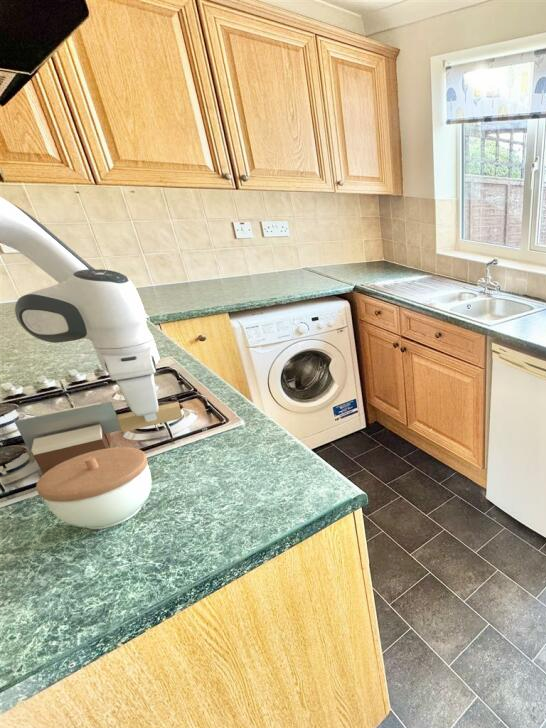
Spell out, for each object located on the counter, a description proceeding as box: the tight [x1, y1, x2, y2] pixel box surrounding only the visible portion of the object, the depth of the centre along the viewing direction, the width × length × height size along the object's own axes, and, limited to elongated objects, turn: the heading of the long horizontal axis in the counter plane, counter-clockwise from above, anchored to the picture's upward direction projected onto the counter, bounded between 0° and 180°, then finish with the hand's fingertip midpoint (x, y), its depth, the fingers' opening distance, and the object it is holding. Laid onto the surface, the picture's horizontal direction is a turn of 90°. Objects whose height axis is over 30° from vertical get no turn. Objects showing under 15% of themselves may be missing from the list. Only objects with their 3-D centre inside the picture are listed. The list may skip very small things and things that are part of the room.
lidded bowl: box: [35, 446, 153, 530], centre depth 67 cm, size 13×13×11 cm
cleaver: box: [13, 401, 184, 452], centre depth 83 cm, size 23×2×6 cm, turn 131°
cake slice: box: [30, 425, 111, 476], centre depth 79 cm, size 9×5×6 cm, turn 131°
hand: (150, 416), depth 88 cm, fingers closed on cleaver, 2 cm apart
